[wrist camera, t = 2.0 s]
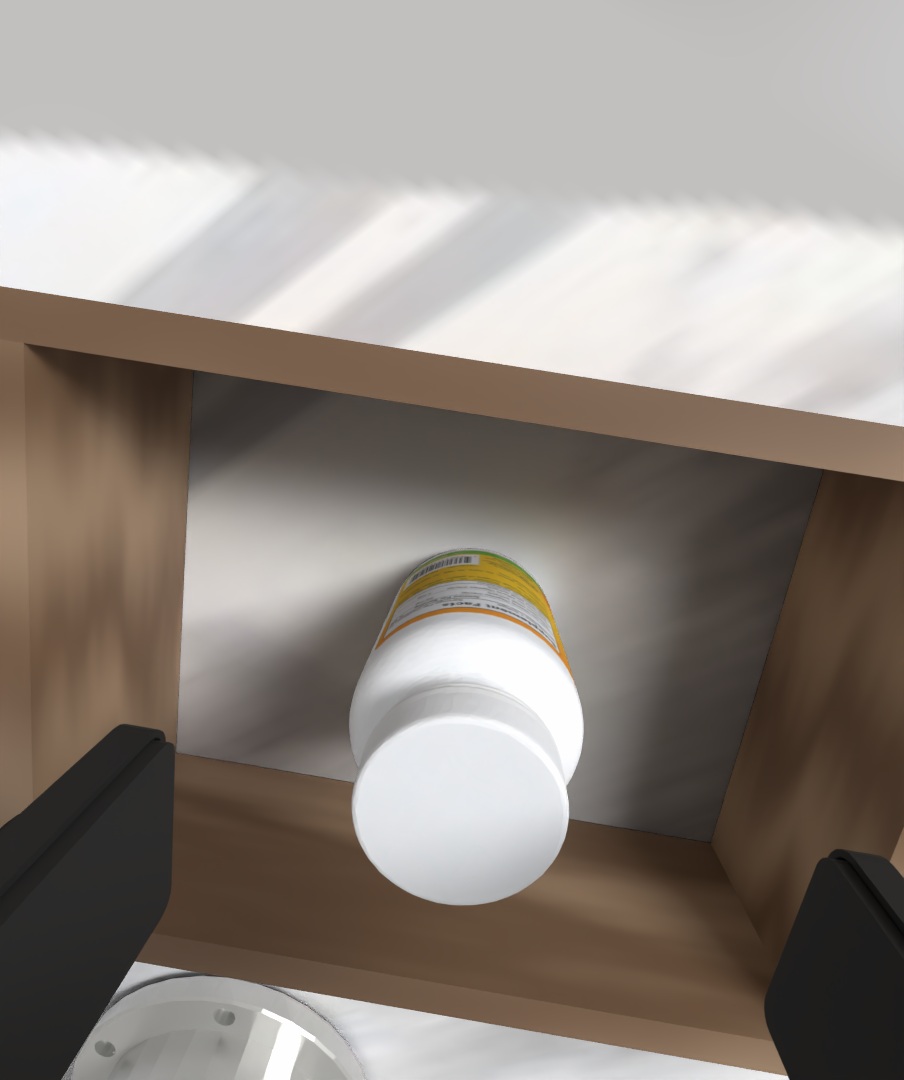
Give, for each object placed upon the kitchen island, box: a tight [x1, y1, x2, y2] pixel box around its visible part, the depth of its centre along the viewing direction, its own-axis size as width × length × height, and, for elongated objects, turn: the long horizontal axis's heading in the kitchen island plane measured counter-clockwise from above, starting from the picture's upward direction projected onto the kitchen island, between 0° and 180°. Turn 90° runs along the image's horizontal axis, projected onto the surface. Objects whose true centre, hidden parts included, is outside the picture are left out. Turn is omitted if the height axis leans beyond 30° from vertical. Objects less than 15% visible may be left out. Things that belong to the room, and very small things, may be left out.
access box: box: [0, 286, 904, 1076], centre depth 17 cm, size 16×22×7 cm
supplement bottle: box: [349, 548, 583, 905], centre depth 15 cm, size 5×5×10 cm
